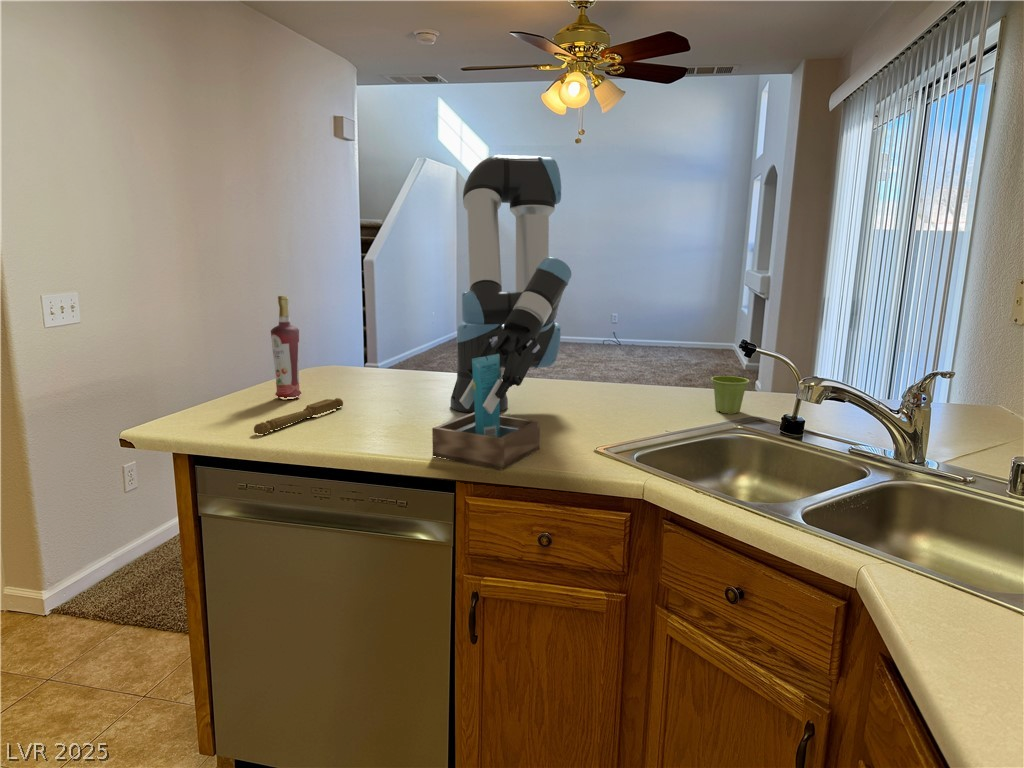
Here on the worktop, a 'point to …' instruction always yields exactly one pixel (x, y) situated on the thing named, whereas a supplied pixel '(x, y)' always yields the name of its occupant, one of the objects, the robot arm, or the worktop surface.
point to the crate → (486, 442)
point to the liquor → (286, 353)
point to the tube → (486, 394)
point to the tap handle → (298, 415)
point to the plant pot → (729, 393)
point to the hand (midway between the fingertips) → (475, 407)
